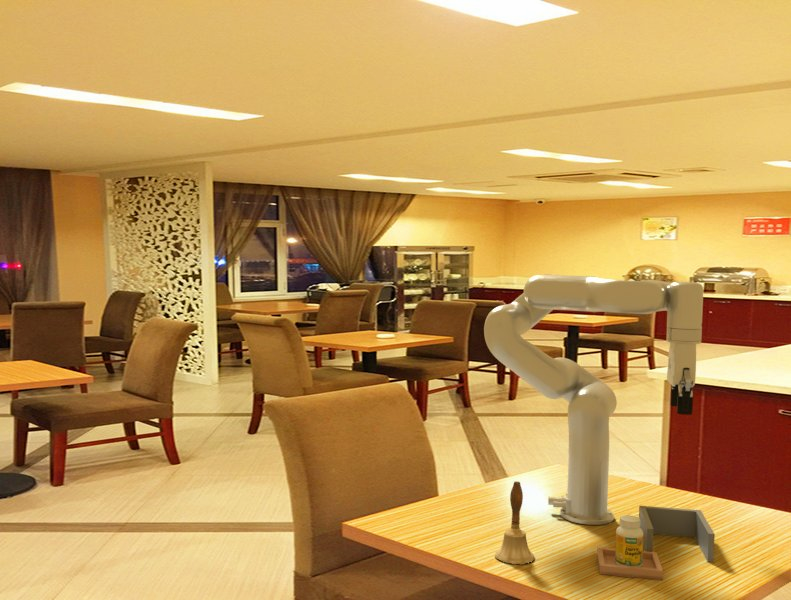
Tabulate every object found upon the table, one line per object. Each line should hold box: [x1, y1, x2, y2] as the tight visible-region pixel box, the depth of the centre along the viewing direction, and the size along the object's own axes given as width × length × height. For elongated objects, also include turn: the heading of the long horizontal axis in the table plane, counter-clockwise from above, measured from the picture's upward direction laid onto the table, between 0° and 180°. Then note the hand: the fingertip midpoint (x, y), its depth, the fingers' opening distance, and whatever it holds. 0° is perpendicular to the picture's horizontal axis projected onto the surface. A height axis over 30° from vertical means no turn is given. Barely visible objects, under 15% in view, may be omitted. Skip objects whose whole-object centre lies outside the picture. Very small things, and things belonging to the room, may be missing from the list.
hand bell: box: [494, 481, 536, 565], centre depth 164 cm, size 8×8×16 cm
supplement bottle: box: [615, 514, 644, 567], centre depth 160 cm, size 5×5×10 cm
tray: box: [596, 546, 664, 581], centre depth 160 cm, size 12×10×2 cm
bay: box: [638, 505, 716, 563], centre depth 173 cm, size 13×16×6 cm
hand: (681, 410), depth 181 cm, fingers open, 9 cm apart
